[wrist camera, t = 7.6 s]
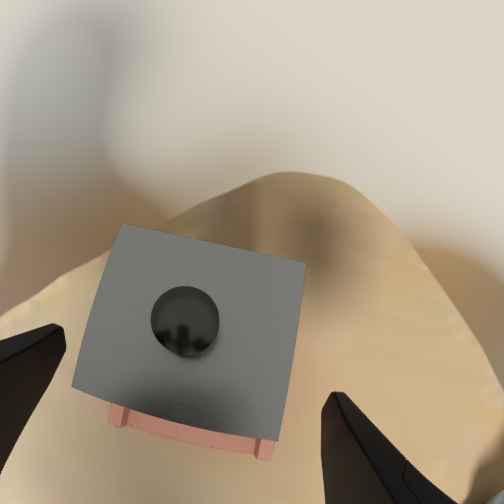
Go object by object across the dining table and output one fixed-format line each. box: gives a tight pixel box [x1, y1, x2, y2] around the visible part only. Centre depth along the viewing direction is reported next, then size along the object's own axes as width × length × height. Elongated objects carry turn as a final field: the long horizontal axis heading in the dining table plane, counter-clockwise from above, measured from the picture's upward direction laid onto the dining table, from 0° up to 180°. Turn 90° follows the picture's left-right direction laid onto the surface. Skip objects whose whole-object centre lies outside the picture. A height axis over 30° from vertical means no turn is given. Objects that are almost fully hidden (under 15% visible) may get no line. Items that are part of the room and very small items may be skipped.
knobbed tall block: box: [72, 223, 306, 441], centre depth 12 cm, size 4×5×13 cm
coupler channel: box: [108, 403, 275, 461], centre depth 17 cm, size 10×10×2 cm
